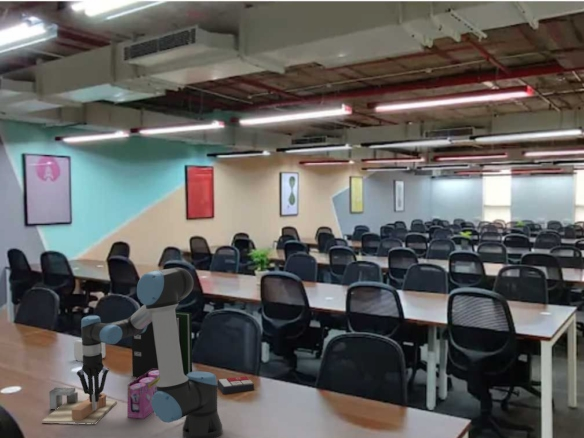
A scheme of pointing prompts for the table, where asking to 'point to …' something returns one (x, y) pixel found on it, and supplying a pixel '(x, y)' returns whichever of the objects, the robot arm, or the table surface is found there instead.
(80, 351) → the cable organizer
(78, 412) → the link
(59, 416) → the plate
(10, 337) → the table surface
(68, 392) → the keeper
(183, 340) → the binder
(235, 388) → the calculator
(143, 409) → the gum box
